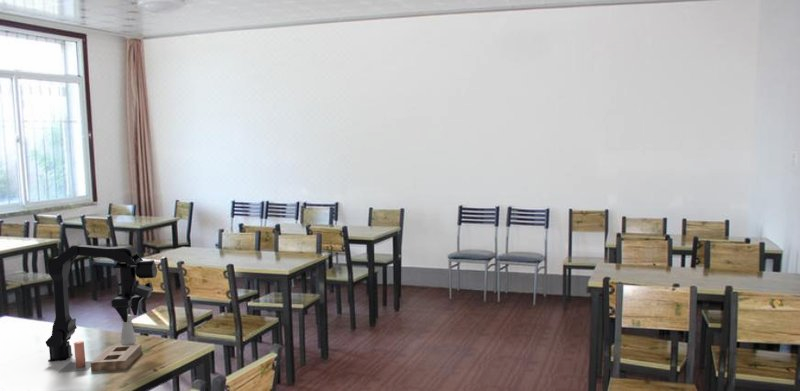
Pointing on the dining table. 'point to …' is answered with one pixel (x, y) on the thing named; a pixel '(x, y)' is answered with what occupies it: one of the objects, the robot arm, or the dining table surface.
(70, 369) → the mat
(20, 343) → the dining table surface
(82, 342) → the peg
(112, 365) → the socket block
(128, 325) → the salt shaker
